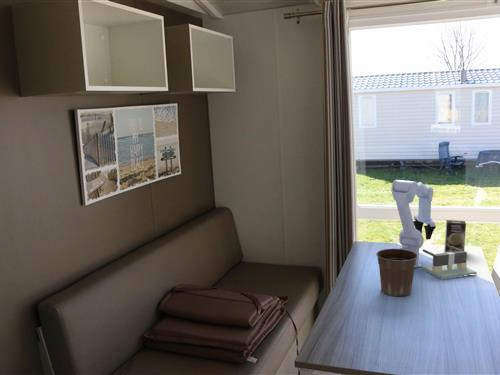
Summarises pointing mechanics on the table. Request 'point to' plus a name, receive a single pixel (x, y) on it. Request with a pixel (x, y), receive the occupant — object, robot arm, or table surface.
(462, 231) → the coffee box
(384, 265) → the plant pot
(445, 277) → the stand
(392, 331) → the table surface
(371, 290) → the table surface
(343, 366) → the table surface
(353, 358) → the table surface
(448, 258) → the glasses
